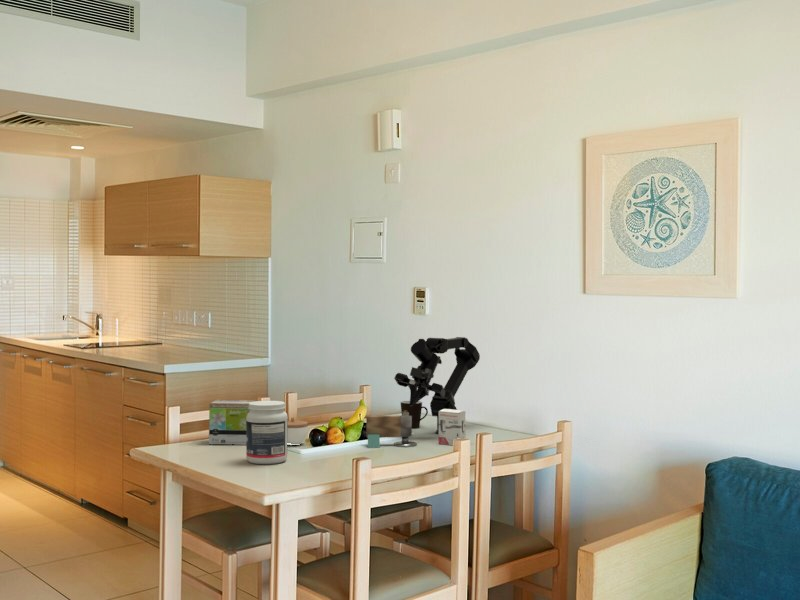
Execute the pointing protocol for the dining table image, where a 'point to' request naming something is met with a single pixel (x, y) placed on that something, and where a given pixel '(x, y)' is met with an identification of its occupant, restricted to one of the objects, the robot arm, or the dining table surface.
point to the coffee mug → (413, 412)
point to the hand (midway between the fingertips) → (410, 405)
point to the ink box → (451, 425)
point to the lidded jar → (297, 431)
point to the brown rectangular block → (389, 425)
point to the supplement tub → (266, 432)
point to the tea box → (228, 421)
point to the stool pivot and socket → (375, 443)
